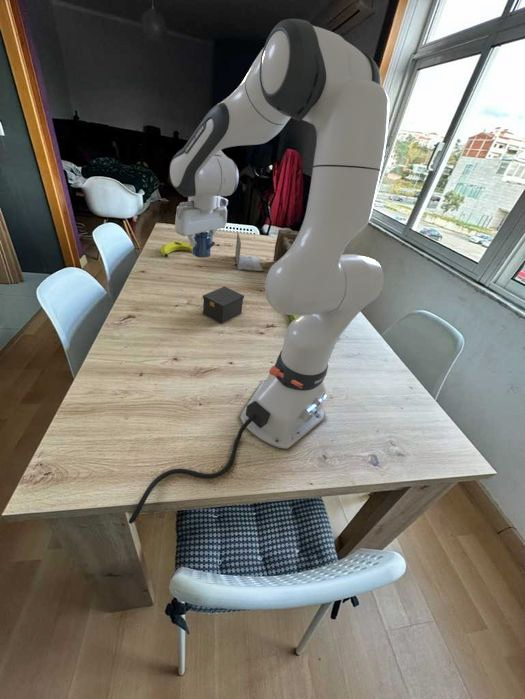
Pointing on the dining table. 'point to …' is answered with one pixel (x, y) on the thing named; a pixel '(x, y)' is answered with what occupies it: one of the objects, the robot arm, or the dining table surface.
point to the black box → (222, 304)
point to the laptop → (246, 259)
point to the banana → (175, 247)
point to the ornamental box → (284, 243)
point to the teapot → (203, 245)
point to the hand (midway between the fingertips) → (201, 244)
